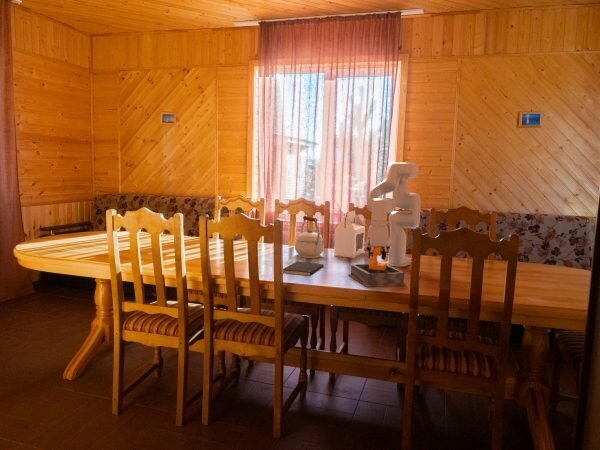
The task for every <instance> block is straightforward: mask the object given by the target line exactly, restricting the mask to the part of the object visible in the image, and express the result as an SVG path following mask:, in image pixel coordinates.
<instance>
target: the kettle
mask: <svg viewBox="0 0 600 450" xmlns="http://www.w3.org/2000/svg"><path fill="white" fill-rule="evenodd" d="M302 219H303V222H302V224H301V227H300V233H299V234H298V235H297V237H295V240H296V241H295V244H294V249H295V252H296V254H297V256H298V257H299V258H304V259H315V258H316V259H317V258H320V257H321V255H322V253H323V252H324V250H325V244H324V242H323V241H325V240H324V238H323V237H322V235H321V234H320V229H319V227H318V218H316V217H312V216H307V215H303V217H302ZM306 221H309V222H314V226H315V228H316V232H313V231H314V230H313V228H311V227H309V228H307V229H306V231H304V226H305V224H306Z"/></svg>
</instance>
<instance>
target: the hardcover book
mask: <svg viewBox="0 0 600 450" xmlns="http://www.w3.org/2000/svg"><path fill="white" fill-rule="evenodd" d="M324 265H325V264H324V263H317V262H308V261H307V262H306V261H298V260H297V261H295V262H294V263H291V264H289V265H288V266H286V267H284V268H282V269H283V270H282V273H284V274H294V275H302V276H312V275H314V274H315V273H317V272H318V271H321V270H322V269H323V268H324Z"/></svg>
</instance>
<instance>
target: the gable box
mask: <svg viewBox="0 0 600 450" xmlns="http://www.w3.org/2000/svg"><path fill="white" fill-rule="evenodd" d="M343 215H344V217H343V218H342V219H341V220H340V222H339V223H338V224H337V226H336V227H335V229H334V249H333V250H334V251H333V254H334V255H333V256H335V257H342V256H343V257H344V258H356V257H358V256H360V255H361V254H363V253H365V247H364V246H363V244H364V243H365V238H366V237H365V234H366V230H365V229H366V225H364V223H363V221H362V220H361V219H360V217H359V216H358V214H356V210H351V211H347V212H346V213H344V214H343ZM343 257H342V258H343Z"/></svg>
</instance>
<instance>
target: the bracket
mask: <svg viewBox="0 0 600 450" xmlns="http://www.w3.org/2000/svg"><path fill="white" fill-rule="evenodd" d="M382 251H383V249H382V247H374V249H373V251H372V252H373V257H372V255H370V259H369V261H368V264H369V269H375V270H385V269H386V266H387V262H386V261H382V260H381V261H379V260H378V257H381V254H382Z"/></svg>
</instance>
